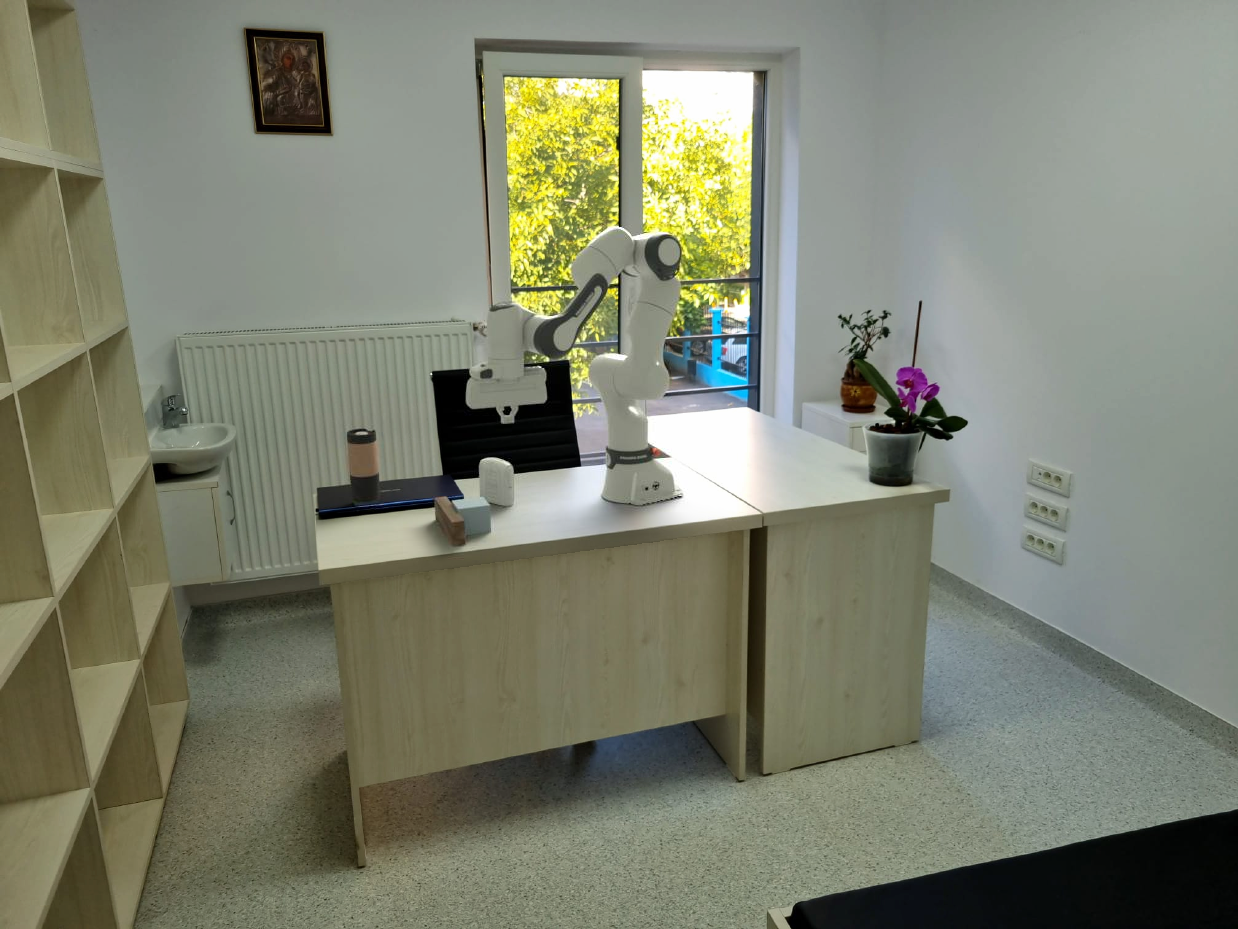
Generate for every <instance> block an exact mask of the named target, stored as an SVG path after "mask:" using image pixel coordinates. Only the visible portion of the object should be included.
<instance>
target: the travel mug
mask: <svg viewBox="0 0 1238 929" xmlns="http://www.w3.org/2000/svg"><path fill="white" fill-rule="evenodd" d="M346 442H347V445H346V446H347V457H348V458H347V459H348V474H349V481H350V490H351V500H353V501H355V502H371V501H374V500H377V499H379V498H380V499H381V493H380V492H381V491H380V490H381V489H380V468H379V456H378V447H377V446H378V442H377V431H376V430H375V429H373V430H368V429H366V428H355V429H351V430H348V431H347V432H346ZM353 501H352V502H353Z"/></svg>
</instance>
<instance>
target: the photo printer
mask: <svg viewBox="0 0 1238 929" xmlns="http://www.w3.org/2000/svg"><path fill="white" fill-rule="evenodd" d="M514 473H515V471H514V466H513V465H512V464H511V463H510V462H509V461H506V460H504V459H501V458H498V457H485V458H483V459H481V460H480V462H479V465H478V474H479V475H478V478H479V481H478V482H479V497H483V498H484V499H485V500H486V501H487V502H488V503H489V504H490V503H491V504H495V505H497V506H498V505H499V506H502V507H511V506H513V504H514V503H515V479H514V478H515V477H514V476H515V475H514Z"/></svg>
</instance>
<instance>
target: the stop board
mask: <svg viewBox="0 0 1238 929" xmlns="http://www.w3.org/2000/svg"><path fill="white" fill-rule="evenodd" d="M433 501H434V515H435V518H434V519H435V521H436V523H437V524H438V525H439V527H440V529H441V530H442V532H443V533H444V535H445V536H446V537H447V539H448V541H449V542H450V544H451V545H452V547H457V546H463V545H466V544H467V542H466V535H465V521H464V519H463V518H462V517H461V515H460V514H459V513H458V512H457V510H456V509H455V508H454V506H453V505H452V501H450V499H449V498H448V497H447V496H438V497H434V500H433Z"/></svg>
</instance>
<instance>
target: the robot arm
mask: <svg viewBox="0 0 1238 929" xmlns="http://www.w3.org/2000/svg"><path fill="white" fill-rule="evenodd" d="M682 250H683V249H682V245H681V242H680V241H679V239H678V238H677V237H676V236H674V235H673V234H671V233H668V232H664V231H659V232H647V233H643V234H639V235H636V236H635V235H634V236H632V235H631V233H629V231H627V229H624V228H623V227H619V226H617V225H616V226H614V225H613V226H610V227H608V228H606V229H605V230H603V231H602V232H600V233H599V234H598V235H597V236H596V237H594V238H593V239H592V240H591V241H590V242H589V243H587V245H586V246H584V248H583V249H582V250H581V251H580V252H579V253H578V255H576V257H575V259H574V260H573V262H572V263H571V267H570V274H571V279H572V281H573V282H574V284H575V286H576V287H577V288H578V291H576V294H575V295H574V296H573V298H571V301H570V302H569V303H568V304H567V305H566V307H565V309H564V310H563V311H562V312H560V313H559V314H557V315H553V316H551V315H546V314H545V315H544V314H542V313H541V314H540V313H537V312H535V311H531V310H529V309H527V308H525V307H523V306H522V305H521V304H520V303H519V302H517V301H512V300H510V301H509V300H508V301H502V302H498V303H495V304H494V305H492V306H491V307H490V308H489V310H488V312H487V313H488V314H487V319H486V340H487V343H488V353H487V360H486V361H484V362H481V363H479V364H476V365H474V366H471V367H469V369H468V370H469V375H470V378H469V379H468V380H467V383H466V389H465V390H466V391H465V404H466V405H467V406H468V407H469V408H470V409H472V410H474V409H475V410H476V409H477V410H478V409H487V408H489V409H490V408H495V409H496V411H497V413H498V414H499V416H500V423H501V424H514V423H515V416H516V414H517V412H518V411H519V406H523V405H536V404H544V403H546V401H547V400H548V392H547V386H546V381H547V371H546V370H545V368H542V366H539V365H537V366H525V365H524V364H525V363H524V362H525V360H524V358H525V356H524V353H525V352H526V351H527V352H532V353H534V354H538V355H541V356H544V357H546V358H549V359H552V360H560V359H562V358H565V357H566V356H567V355H569V354H570V352H572V350H573V348H574V346H575V344H576V342H577V340H578V337H579V335H580V333H581V331H582V330H583V328H584V326H586V324H587V322H589V321H590V319H591V317H592V316H593V315H594V314H595V312H596V310H597V309H598V308H599V306H600V304H602V302H603V301H604V299H605V298H606V296H607V293H608V291H609V287H610V285H611V284H612V283H613V281H614V280H615V279H617V277H618V276H619V274H620V273H622V274H623V275H626V276H628V277H634V278H636V277H640V278H641V287H640V291H639V294H638V295H637V298H636V299H635V300H636V301H635V303H634V305H633V307H632V311H631V313H630V315H629V317H628V321H627V323H626V325H625V333H626V337H627V338H628V339H629V340H630V343H631V344H630V346H631V347H630V351H629V354H628V355H626V354H619V353H613V352H612V353H604V354H599V355H597V356H595V357H594V358H593V359H592V360H591V362H590V364H589V367H588V372H587V373H588V374H587V375H588V376H587V377H588V380H589V382H590V384H591V386H593V388H594V389H595V390H596V392H597V394H598V396H599V397H600V400H601V402H602V406H603V408H604V409H603V410H604V413H605V417H606V428H607V431H606V432H607V433H606V434H607V438H606V439H607V440H606V441H607V445H606V446H605V465H606V472H605V477H604V478H605V479H604V485H603V489H602V492H601V497H602V498H603V499H605V500H607V501H609V502H614V503H620V504H629V503H631V504H630V505H635V506H643V504H645V505H647V504H646V503H649V504H653V503H652V502H654V503H658V502H657V501H659V502H661V501H660V500H663V501H666V500H665V499H668V500H671V499H670V498H673V497H677V496H679V495H682V496H683V491H682V488H681V487H679V486H678V485H676V483H675V480H674V475H673V473H672V472H671V470H670V469H668V467H666V466H665V465H664V464H662V463H661V462H659V461H658V460H657V459H656V458H655V457H659V456H660V455H661V453H662V452H661V450H660V449H658V448H657V447H653V446H651V445H649V444H648V443H649V441H648V440H649V437H648V436H649V420H648V417H647V416H646V414H645V412H644V411H643V410H642V409H641V408H640V406H639V404H638V401H656V400H660V399H662V397H664V396H665V395H666V393H667V392H668V390H669V387H670V374H669V370H668V369H667V367H666V365H665V361H664V345H665V342H666V339H667V336H668V334H669V330H670V327H671V325H672V323H673V320H674V318H675V314H676V312H677V308H678V305H679V301H680V296H681V291H682V284H681V281H680V279H679V278H678V277H677V275H678V273H679V272H680V269H681V267H680V266H681V263H682V257H683V256H682V255H683V251H682ZM637 400H638V401H637ZM505 407H510V408H511V411H510V413H509V415H506V414H504V412H503V411H505ZM677 498H678V497H677ZM673 499H674V498H673Z"/></svg>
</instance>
